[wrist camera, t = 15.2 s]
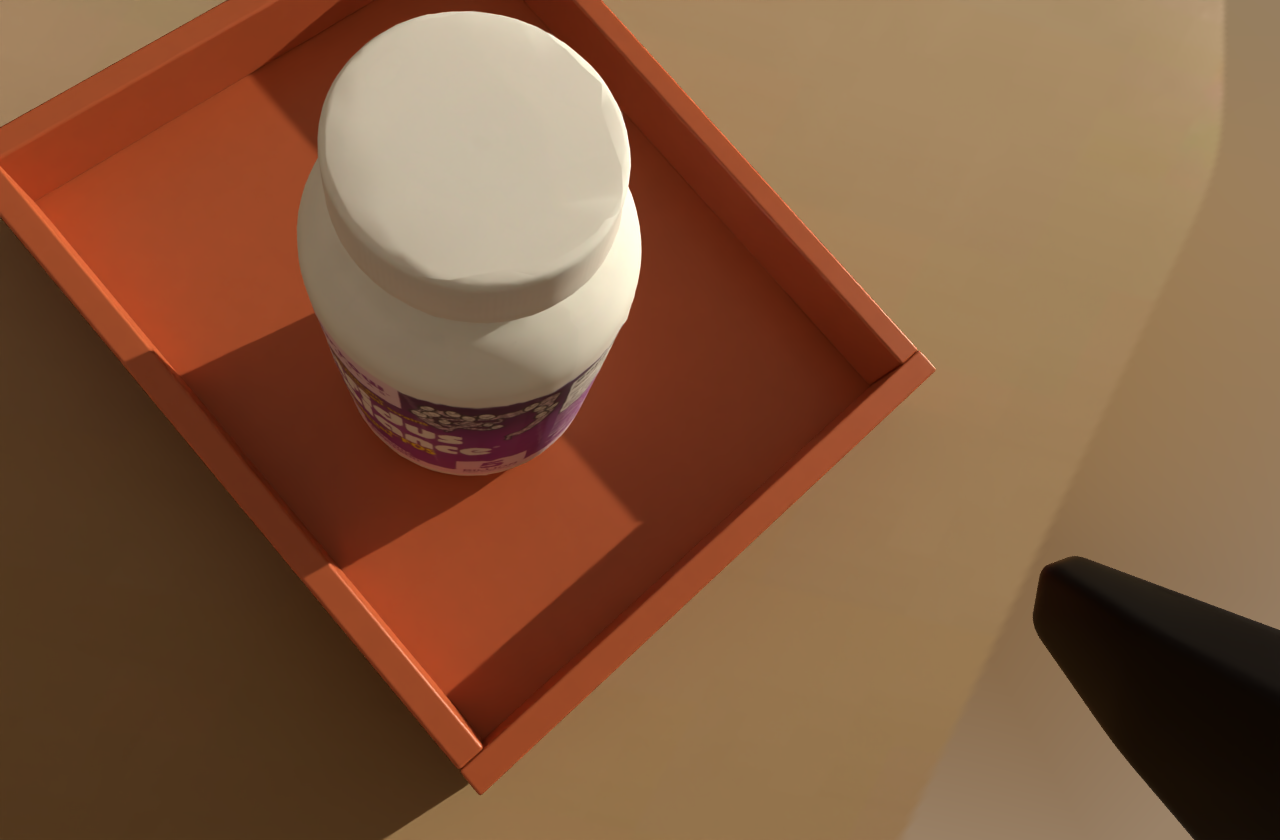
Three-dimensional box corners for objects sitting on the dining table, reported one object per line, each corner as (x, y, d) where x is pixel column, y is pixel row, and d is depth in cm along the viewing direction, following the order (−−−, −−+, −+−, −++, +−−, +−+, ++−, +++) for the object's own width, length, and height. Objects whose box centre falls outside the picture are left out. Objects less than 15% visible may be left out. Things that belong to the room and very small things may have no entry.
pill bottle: (307, 436, 20) (173, 249, 11) (397, 223, 21) (346, -100, 12) (547, 515, 20) (614, 401, 11) (618, 302, 22) (728, 48, 13)
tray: (888, 399, 24) (937, 369, 21) (478, 778, 20) (480, 796, 17) (474, -61, 25) (475, -142, 22) (9, 214, 21) (-52, 154, 18)
